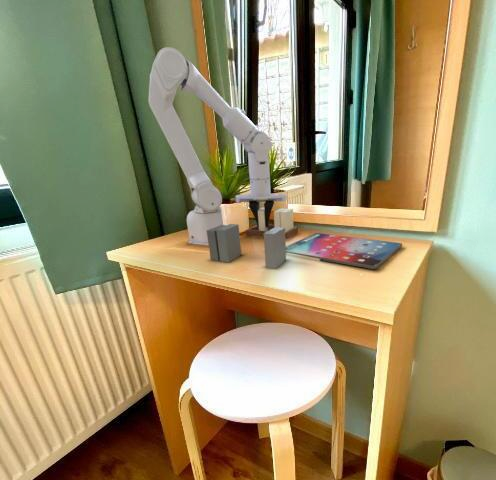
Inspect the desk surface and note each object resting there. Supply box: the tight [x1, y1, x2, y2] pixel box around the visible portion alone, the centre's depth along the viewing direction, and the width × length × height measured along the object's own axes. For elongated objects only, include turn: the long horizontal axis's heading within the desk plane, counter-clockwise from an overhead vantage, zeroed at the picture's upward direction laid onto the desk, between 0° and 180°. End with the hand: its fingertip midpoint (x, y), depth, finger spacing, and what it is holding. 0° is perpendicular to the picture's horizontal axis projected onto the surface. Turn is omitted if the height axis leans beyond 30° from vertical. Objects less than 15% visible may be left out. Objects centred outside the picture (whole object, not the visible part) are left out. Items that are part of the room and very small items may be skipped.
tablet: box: [286, 232, 403, 270], centre depth 75 cm, size 19×25×1 cm
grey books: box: [207, 223, 287, 270], centre depth 69 cm, size 17×6×8 cm, turn 66°
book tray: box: [245, 224, 299, 240], centre depth 90 cm, size 13×8×2 cm, turn 66°
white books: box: [273, 208, 294, 233], centre depth 87 cm, size 4×5×7 cm
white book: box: [258, 207, 268, 231], centre depth 90 cm, size 2×5×7 cm, turn 176°
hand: (263, 226), depth 91 cm, fingers closed on white book, 2 cm apart
